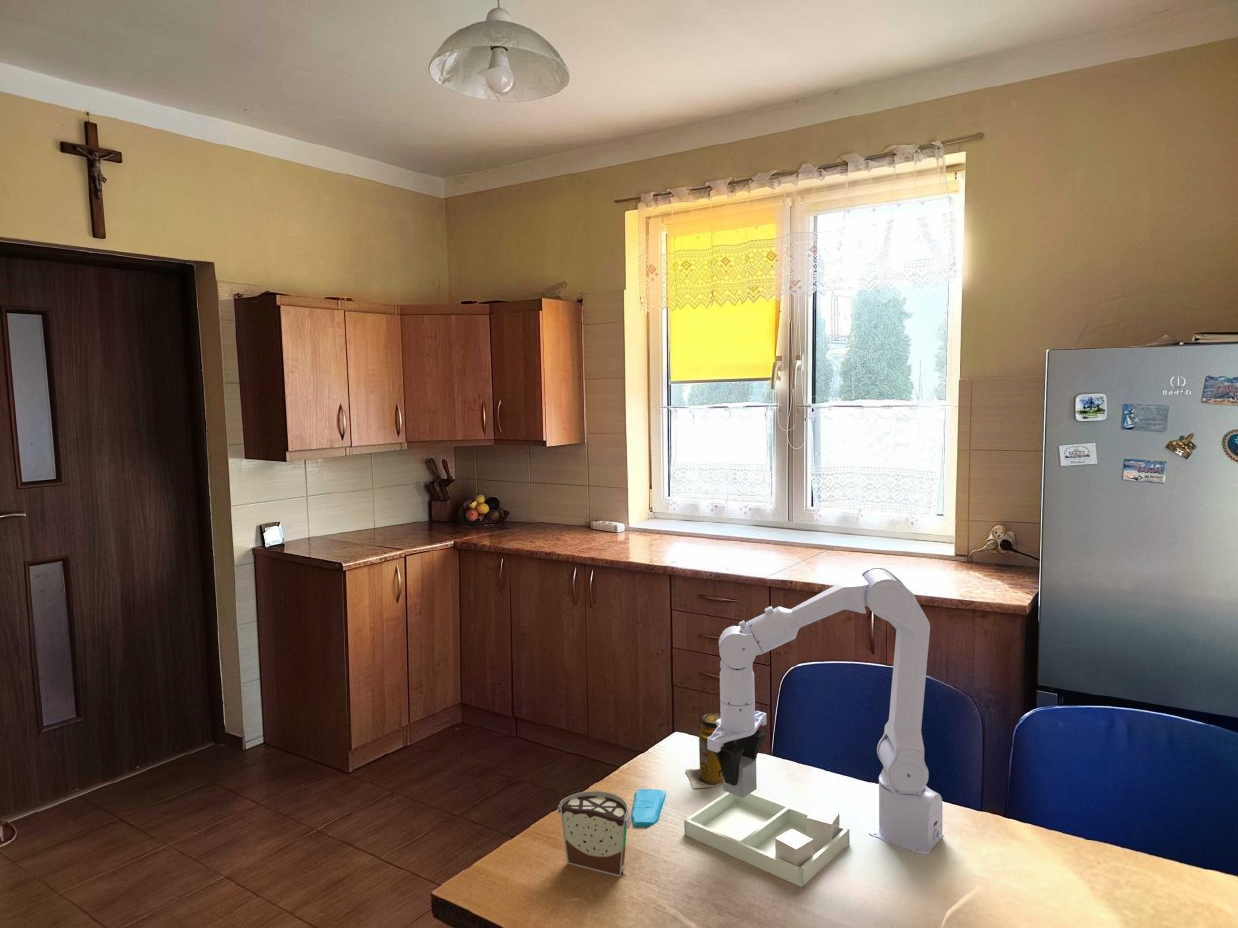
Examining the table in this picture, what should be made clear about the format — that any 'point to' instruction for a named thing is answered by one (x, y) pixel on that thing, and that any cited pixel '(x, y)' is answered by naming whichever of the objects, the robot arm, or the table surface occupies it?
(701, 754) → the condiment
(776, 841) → the white block
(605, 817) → the food container
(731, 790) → the grey rectangular block
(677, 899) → the table surface
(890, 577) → the robot arm
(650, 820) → the sponge
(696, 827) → the tray
